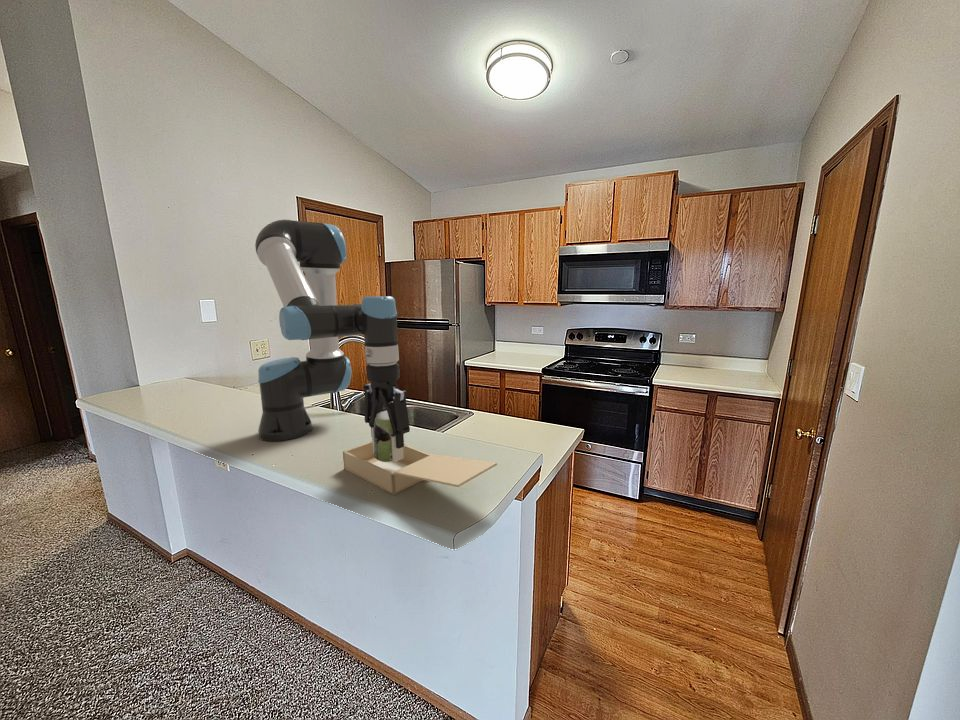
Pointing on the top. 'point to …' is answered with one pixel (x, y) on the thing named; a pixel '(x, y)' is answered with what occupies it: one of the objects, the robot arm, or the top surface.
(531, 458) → the top surface
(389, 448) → the beverage can
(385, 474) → the box
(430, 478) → the lid
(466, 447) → the top surface
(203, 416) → the top surface
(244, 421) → the top surface
